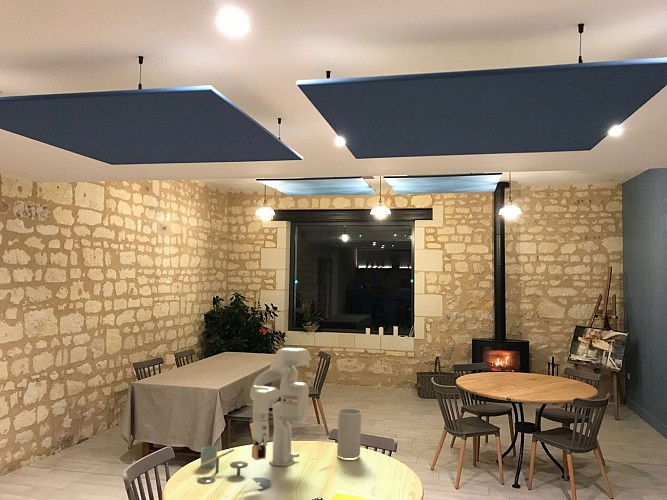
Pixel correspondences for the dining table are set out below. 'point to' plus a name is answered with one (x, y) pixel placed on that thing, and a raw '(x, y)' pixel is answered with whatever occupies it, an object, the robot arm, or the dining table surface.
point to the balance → (209, 479)
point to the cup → (208, 456)
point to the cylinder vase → (349, 433)
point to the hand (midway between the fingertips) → (258, 455)
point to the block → (256, 452)
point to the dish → (262, 482)
